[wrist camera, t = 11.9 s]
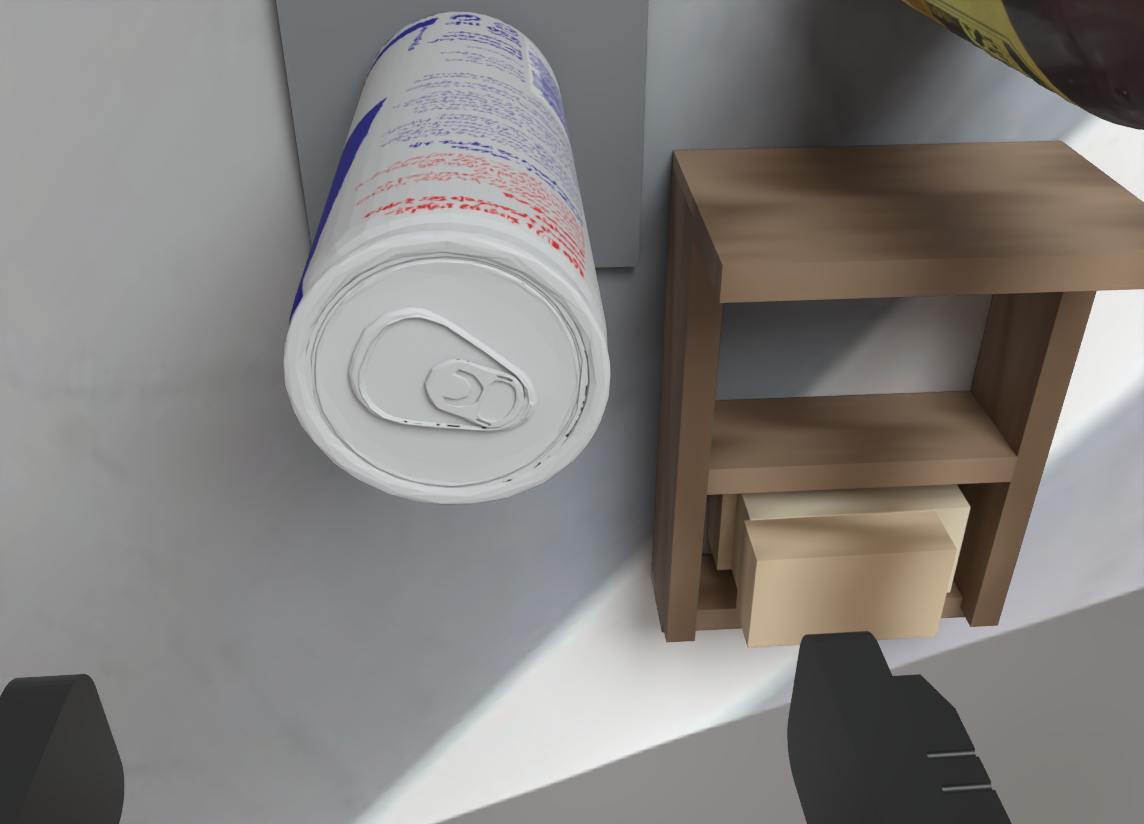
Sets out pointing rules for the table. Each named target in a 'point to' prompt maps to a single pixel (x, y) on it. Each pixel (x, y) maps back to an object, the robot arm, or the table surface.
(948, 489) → the offcut stack
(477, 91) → the beverage can
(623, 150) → the rubber mat
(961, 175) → the tray
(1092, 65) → the sauce bottle
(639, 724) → the table surface
